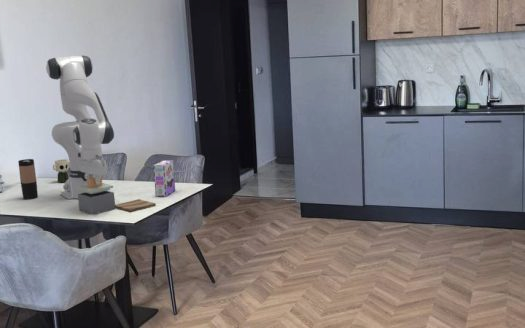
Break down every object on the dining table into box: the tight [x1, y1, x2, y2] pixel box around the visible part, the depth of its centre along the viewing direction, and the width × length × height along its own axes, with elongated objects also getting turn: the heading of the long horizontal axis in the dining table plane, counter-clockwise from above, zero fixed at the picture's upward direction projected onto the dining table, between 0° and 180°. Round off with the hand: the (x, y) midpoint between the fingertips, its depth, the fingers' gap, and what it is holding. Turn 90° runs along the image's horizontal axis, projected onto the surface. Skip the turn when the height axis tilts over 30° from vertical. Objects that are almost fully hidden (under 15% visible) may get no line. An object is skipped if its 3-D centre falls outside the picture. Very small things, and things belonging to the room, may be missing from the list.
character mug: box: [52, 158, 70, 183], centre depth 334 cm, size 11×7×13 cm, turn 137°
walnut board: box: [115, 198, 157, 213], centre depth 270 cm, size 14×14×1 cm
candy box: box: [153, 160, 176, 198], centre depth 293 cm, size 14×6×16 cm, turn 168°
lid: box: [77, 177, 114, 194], centre depth 265 cm, size 12×12×6 cm
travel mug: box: [17, 158, 39, 200], centre depth 296 cm, size 8×8×20 cm
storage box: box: [77, 190, 116, 216], centre depth 266 cm, size 12×12×8 cm
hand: (94, 183), depth 265 cm, fingers closed on lid, 3 cm apart
